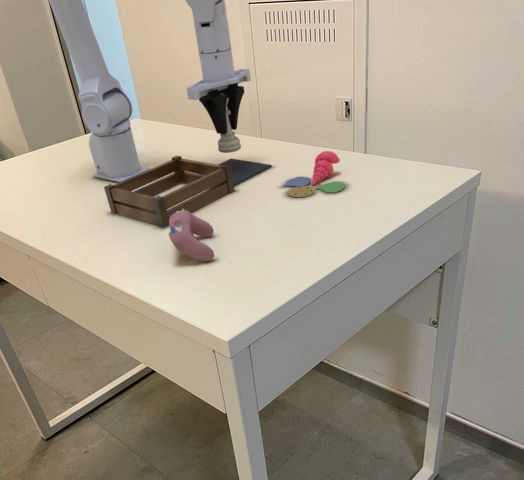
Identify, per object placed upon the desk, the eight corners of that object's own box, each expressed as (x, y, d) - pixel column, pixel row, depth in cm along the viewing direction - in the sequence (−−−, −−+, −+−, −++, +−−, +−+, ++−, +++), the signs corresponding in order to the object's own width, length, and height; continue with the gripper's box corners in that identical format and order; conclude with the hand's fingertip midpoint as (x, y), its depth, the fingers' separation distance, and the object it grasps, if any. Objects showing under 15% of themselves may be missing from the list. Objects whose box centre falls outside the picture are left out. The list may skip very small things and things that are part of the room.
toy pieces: (289, 173, 104) (287, 150, 101) (348, 171, 101) (348, 147, 99) (277, 198, 94) (275, 173, 92) (342, 196, 92) (342, 170, 89)
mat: (193, 178, 108) (193, 176, 108) (231, 160, 114) (231, 158, 114) (234, 186, 102) (234, 184, 102) (271, 166, 108) (271, 164, 108)
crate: (111, 212, 98) (103, 186, 95) (181, 179, 108) (176, 155, 105) (164, 228, 90) (157, 199, 87) (234, 190, 100) (231, 164, 97)
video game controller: (192, 245, 87) (164, 211, 83) (216, 230, 86) (188, 194, 82) (191, 275, 79) (160, 238, 75) (217, 258, 78) (186, 220, 74)
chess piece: (219, 147, 107) (211, 92, 101) (241, 144, 107) (234, 89, 101) (217, 154, 104) (208, 97, 98) (240, 151, 103) (232, 94, 97)
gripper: (201, 59, 89) (215, 144, 97) (259, 42, 97) (267, 122, 105) (172, 59, 93) (188, 141, 101) (230, 42, 101) (240, 119, 109)
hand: (226, 131), depth 103 cm, fingers closed on chess piece, 2 cm apart
